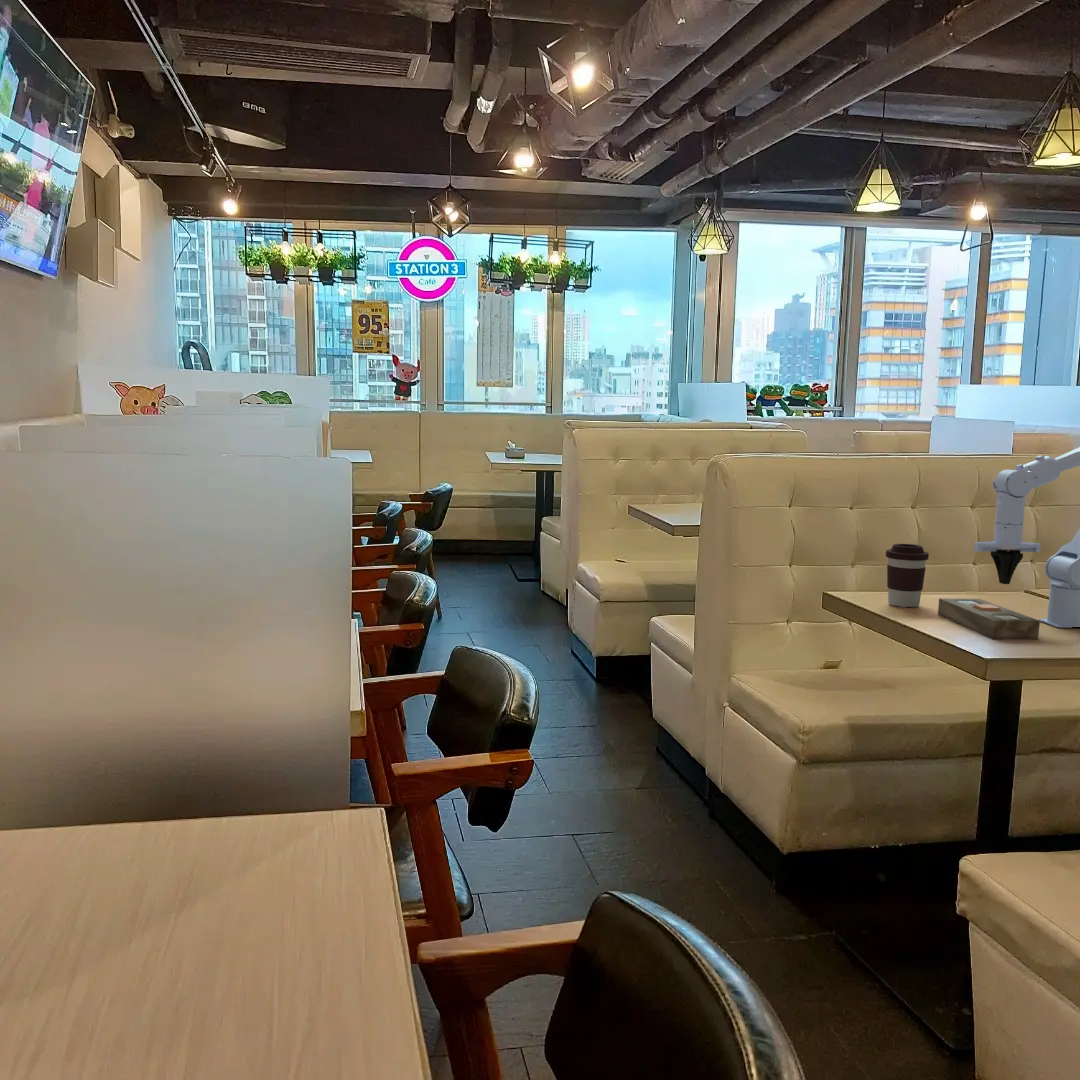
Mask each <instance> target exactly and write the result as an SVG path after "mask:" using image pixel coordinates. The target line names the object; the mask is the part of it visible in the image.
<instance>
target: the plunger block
mask: <svg viewBox="0 0 1080 1080" xmlns="http://www.w3.org/2000/svg"><path fill="white" fill-rule="evenodd" d="M957 601H974V602H977V603H979V604H990V605H994V606H996V607H999V608H1000V611H980V610H978V609H975V608H974V604H962V603H960V602H957ZM938 614H939V615H941V616H943V617H944V618H943V617H942V618H943V619H945V618H947V619H946V620H948V619H949V620H948V621H950V620H951V621H950V622H952V621H953V622H952V623H956V624H957V625H959V624H960V625H959V626H961V625H962V627H964V628H967V629H968V628H969V630H970V631H973V632H975V631H976V633H977V632H978V634H980V633H981V634H980V635H982V634H983V635H982V636H984V635H985V637H987V638H989V639H991V638H992V639H991V640H1039V635H1040V623H1041V621H1039V619H1036V618H1033V617H1031V616H1028V615H1025V614H1022V613H1020V612H1017V611H1013V610H1011V609H1009V608H1006V607H1003V606H1001V605H998V604H996V603H992V602H991V601H987V600H984V599H982V598H940V597H939V598H938V607H937V615H938ZM939 615H938V616H939ZM993 615H1007V616H1013V617H1016V618H1019V619H1001V618H998V617H996V616H993ZM941 616H940V617H941Z"/></svg>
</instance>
